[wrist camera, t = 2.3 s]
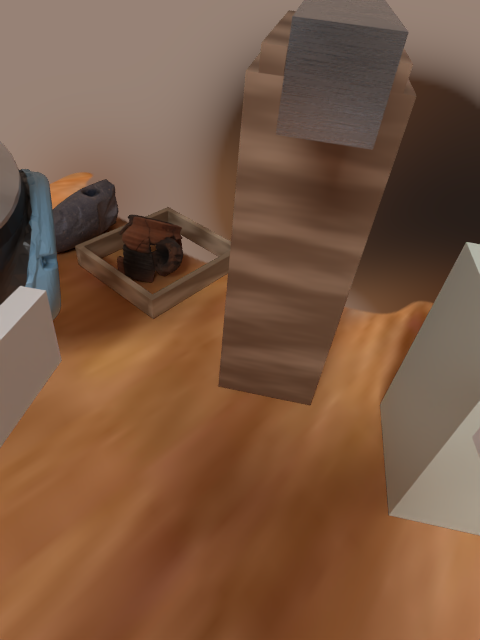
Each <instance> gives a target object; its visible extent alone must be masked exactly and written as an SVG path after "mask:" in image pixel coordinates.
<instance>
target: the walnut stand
mask: <svg viewBox="0 0 480 640" xmlns="http://www.w3.org/2000/svg"><path fill="white" fill-rule="evenodd" d="M295 12H296V11H288V12H287V13H286V15H285V16H284V17H283V18H282V19H281V20H280V22H279V23H278V24H277V25H276V26H275V27H274V29H273V30H272V31H271V32H270V33H269V35H268V36H267V37H266V38H265V39H264V41H263V42H262V44H261V52H260V53H259V55H258V56H257V58H256V59H255V60H254V61H253V62H252V64H251V65H250V66H249V68H248V69H247V70H246V77H245V88H244V100H243V111H242V122H241V134H240V146H239V157H238V168H237V179H236V191H235V203H234V214H233V225H232V237H231V248H230V259H229V271H228V282H227V294H226V305H225V316H224V328H223V339H222V351H221V362H220V373H219V385H218V386H219V387H224V388H229V389H234V390H238V391H243V392H248V393H253V394H258V395H263V396H268V397H272V398H277V399H282V400H287V401H292V402H297V403H302V404H306V405H311V402H312V399H313V396H314V393H315V390H316V388H317V385H318V382H319V379H320V376H321V373H322V370H323V367H324V364H325V361H326V358H327V355H328V353H329V350H330V347H331V344H332V341H333V338H334V335H335V332H336V329H337V326H338V323H339V320H340V318H341V315H342V312H343V309H344V306H345V303H346V300H347V297H348V294H349V291H350V288H351V285H352V283H353V280H354V277H355V274H356V271H357V268H358V265H359V262H360V259H361V256H362V253H363V250H364V247H365V244H366V241H367V239H368V236H369V233H370V230H371V227H372V224H373V221H374V218H375V215H376V212H377V209H378V206H379V203H380V200H381V198H382V195H383V192H384V189H385V186H386V183H387V180H388V177H389V175H390V172H391V169H392V166H393V163H394V160H395V157H396V154H397V151H398V148H399V145H400V142H401V140H402V136H403V133H404V131H405V128H406V125H407V122H408V119H409V116H410V113H411V110H412V107H413V105H414V102H415V98H416V94H415V92H414V90H413V88H412V86H411V84H410V81H409V79H408V78H409V75H410V72H411V68H412V65H413V64H412V62H411V60H410V58H409V57H408V55H407V53H406V51H405V50H404V49H403V52H402V55H401V58H400V62H399V65H398V68H397V72H396V75H395V78H394V82H393V85H392V88H391V92H390V95H389V98H388V101H387V105H386V108H385V111H384V115H383V118H382V121H381V125H380V128H379V131H378V135H377V138H376V141H375V144H374V148H373V150H370V149H364V148H357V147H351V146H345V145H338V144H332V143H326V142H319V141H313V140H307V139H301V138H294V137H288V136H282V135H276V128H277V121H278V114H279V107H280V100H281V93H282V86H283V79H284V72H285V65H286V58H287V51H288V44H289V37H290V30H291V23H292V16H293V15H294V13H295Z"/></svg>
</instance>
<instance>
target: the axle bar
mask: <svg viewBox="0 0 480 640" xmlns="http://www.w3.org/2000/svg"><path fill="white" fill-rule="evenodd" d="M407 35H408V31H407V29H406V28H405V27H404V25H403V24H402V22H401V21H400V20H399V18H398V17H397V16H396V14H395V13H394V12H393V10H392V9H391V8H390V6H389V5H388V4H387V2H386V1H385V0H304V1H303V2H302V4H301V5H300V7H299V8H298V9H297V11H296V12H295V13H294V15H293V16H292V23H291V30H290V37H289V44H288V51H287V58H286V65H285V72H284V79H283V86H282V93H281V100H280V107H279V114H278V121H277V128H276V135H282V136H288V137H294V138H301V139H307V140H313V141H319V142H326V143H332V144H338V145H345V146H351V147H357V148H364V149H370V150H373V148H374V144H375V141H376V138H377V135H378V131H379V128H380V125H381V121H382V118H383V115H384V111H385V108H386V105H387V101H388V98H389V95H390V92H391V88H392V85H393V82H394V78H395V75H396V72H397V68H398V65H399V62H400V58H401V55H402V52H403V49H404V45H405V42H406V39H407Z"/></svg>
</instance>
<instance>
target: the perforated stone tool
mask: <svg viewBox="0 0 480 640" xmlns="http://www.w3.org/2000/svg"><path fill="white" fill-rule="evenodd" d="M117 206H118V205H117V201H116V197H115V187H114V185H113V184H111V183H110V182H108V180H106V179H105V180H102V181H99V182H97V183H95V184H92V185H89V186H87V187H85V188H82V189H80V190H78V191H77V192H75V193H74V194H72V195H71V196H69V197H68V198H66V199H65V200H64V201H63V202H61V203H60V204H59V205H57V206H56V207H55V208H54V209H53V219H54V229H55V239H56V251H57V252H62V251H67V250H70V249H73V248H75V246H76V245H79V244H81V243H83V242H86V241H88V240H91V239H93V238H95V237H97V236H99V235H101V234H102V233H103V232H105V231H106V230H108V227H110V226H112V225H113V224H115V223H116V218H117V215H118V207H117Z"/></svg>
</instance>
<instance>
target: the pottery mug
mask: <svg viewBox="0 0 480 640" xmlns="http://www.w3.org/2000/svg"><path fill="white" fill-rule="evenodd" d="M128 218H129V219H130V220H129V223H128V224H126V225H125V226H124V227H123V228H122V230H121V231H120V233H119V234H120V235H122V234H123V235H122V241H123V243H124V245H123V255H124V258H123V257H121V256H119V257H118V258H117V263H118V271H120V272H121V273H123V274H124V275H126V276H128V277H130V278H132V279H136V280H140V281H145V282H153V277H154V274H155V271H157V272H158V273H159V274H160V275H162V276H166V275H168V274H170V273H172V272H174V271H175V270H176V269H177V268H178V267H179V266H180V264H181V262H182V258H183V251H182V243H181V239H182V237H181V235H180V232H181V230H182V227H180V226H178V225H174V224H172V223H169V222H164V221H161V220H156V219H152V218H147V217H143V216H138V215H129V216H128ZM126 229H127V230H126ZM125 230H126V231H125ZM124 231H125V232H124ZM123 232H124V233H123ZM150 245H156V249H157V250H156V251H154V252H151V247H150Z"/></svg>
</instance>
